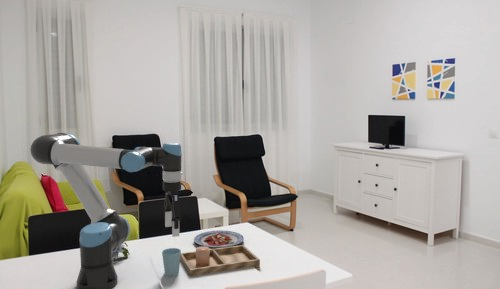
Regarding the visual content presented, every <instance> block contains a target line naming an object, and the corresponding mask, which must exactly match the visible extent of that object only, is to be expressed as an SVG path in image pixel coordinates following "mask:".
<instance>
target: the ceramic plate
mask: <svg viewBox="0 0 500 289" xmlns="http://www.w3.org/2000/svg"><path fill="white" fill-rule="evenodd" d="M244 239H245V237H244V235H242V234H241V233H238V232H236V231H232V230H218V229H217V230H209V231H204V232H201V233H198V234H197V235H195V236H194V238H193V241H194V242H195V244H197V245H199V246H201V247H202V246H204V247H209V248H225V247H232V246H238V244H241V243H242V242H244Z"/></svg>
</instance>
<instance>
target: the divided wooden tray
mask: <svg viewBox="0 0 500 289" xmlns="http://www.w3.org/2000/svg"><path fill="white" fill-rule="evenodd" d="M180 262H181V263H182V265H183V266H184V268H185V270H186V271H187V274H188V275H189V276H190V277H193V276H200V275H205V274H212V273H219V272H220V273H221V272H225V271H233V270H238V269H245V268H250V267H253V268H254V269H258V268H259V269H260V268H261V259H259V257H258V256H257V255H255V254H254V253H253V252H252V251H251V250H250V249H249V248H247V247H246V246H245V245H244V244H241V245H234V246H229V247H216V248H212V249H211V248H210V265H209V266H206V267H198V266H196V250H194V251H189V252H181V256H180Z"/></svg>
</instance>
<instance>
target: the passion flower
mask: <svg viewBox="0 0 500 289" xmlns="http://www.w3.org/2000/svg"><path fill="white" fill-rule="evenodd" d="M124 244H125V245H126V247H128V244H127V242H125V241H124V242H123V243H122V244H120V245H119V246H117V247H116V248H115V249H114V250H112V258H113V259H115V260H117V259H118V258H119V254H120V253H121V254H123V257H125V259H128V257H129V256H130V252H129V250H128V248H126V247H125V245H124Z"/></svg>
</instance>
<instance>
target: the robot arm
mask: <svg viewBox="0 0 500 289" xmlns="http://www.w3.org/2000/svg"><path fill="white" fill-rule="evenodd" d="M30 155H31V157H32V158H33V160H34V161H36V162H37V163H39V164H43V165H52V166H53V167H54V169H55V170H56V171H58V172H62V174H63V177H64V178H65V180H66V181H67V183H68V184H69V186H70V188H71V189H72V191H73V192H74V194H75V196H76V197H77V199H78V200H79V202H80V204H81V206H82V207H83V209H84V210H85V212H86V213H87V216H88V217H89V219H90V220H91V221H90V224H87V225H85V226H84V227H82V228H81V229H80V231H79V240H78V241H79V249H80V250H79V252H80V253H79V254H80V269H79V272H78V276H77V279H76V289H113V288H114V287H116V286H117V285H118V279H119V278H118V274H117V272H116V269H115V267H114V263H113V257H112V250H114V249H115V248H116V247H117V246H119V245H120V244H122V245H123V243H125V241H126V240H127V239H128V237H129V236H130V233H131V226H130V223H129V221H128V220H127V219H126V218H125V217H124V216H121V215H119V213H118V212H117V211H116V210H115V209H111V208H110V207H109V205H108V202H107V201H106V200H105V198H104V196H103V195H102V193H101V192H100V190H99V189H98V187H97V185H96V184H95V182H94V180H93V179H92V177H91V176H90V174H89V172H88V170H87V169H86V167H85V166H88V167H99V168H109V169H120V170H124V171H126V172H128V173H134V172H139V171H141V170H143V169H146V168H148V167H151V166H153V167H162V180H163V181H162V191H164V192H165V196H164V204H163V209H164V226H165V228H169V227H172V228H171V233H172V234H171V236H172V237H173V238H175V237H180V222H181V220H182V216H181V215H182V214H181V206H180V195H178V194H177V192H180V191H181V190H182V181H181V180H182V175H183V172H182V155H183V153H182V146H181V144H180V143H178V142H164V143H163V144H162V147H152V146H151V147H150V146H149V147H148V146H137V147H135V148H134V149H124V148H111V147H103V146H94V145H93V146H92V145H82V144H81V143H80V141H79V139H78V138H77V137H76V136H75V135H73V134H71V133H68V132H67V133H65V132H59V133H58V132H57V133H52V134H46V135H45V134H44V135H40V136H39V137H36V138H35V139H34V140H33V142H31V144H30Z"/></svg>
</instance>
